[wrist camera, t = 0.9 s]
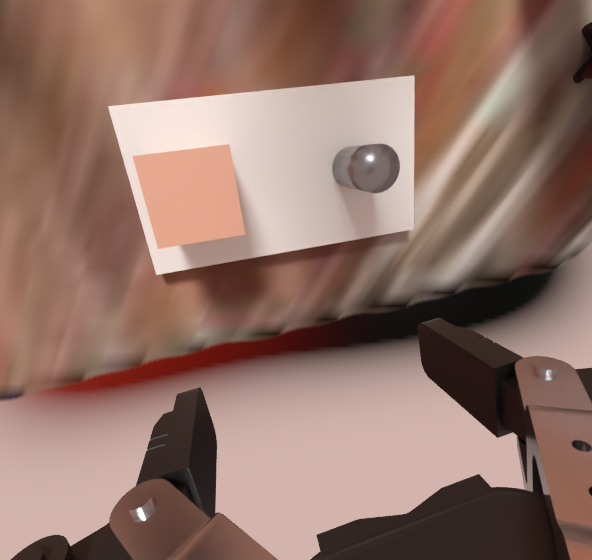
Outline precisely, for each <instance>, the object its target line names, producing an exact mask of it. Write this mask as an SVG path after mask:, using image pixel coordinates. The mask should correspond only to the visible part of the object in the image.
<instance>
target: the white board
mask: <svg viewBox="0 0 592 560" xmlns="http://www.w3.org/2000/svg"><path fill="white" fill-rule="evenodd" d="M108 108H109V111H110V114H111V118H112V121H113V125H114V128H115V132H116V135H117V139H118V142H119V146H120V149H121V153H122V156H123V160H124V163H125V167H126V170H127V174H128V177H129V181H130V184H131V188H132V191H133V195H134V198H135V202H136V205H137V209H138V212H139V216H140V219H141V223H142V226H143V230H144V233H145V237H146V240H147V244H148V247H149V251H150V254H151V258H152V261H153V265H154V268H155V272H156V275H159V274H165V273H170V272H176V271H182V270H187V269H193V268H199V267H204V266H210V265H215V264H221V263H227V262H232V261H238V260H244V259H249V258H255V257H261V256H266V255H272V254H278V253H283V252H289V251H295V250H300V249H306V248H311V247H317V246H323V245H328V244H334V243H340V242H345V241H351V240H357V239H362V238H368V237H374V236H379V235H385V234H391V233H396V232H402V231H407V230H413V229H414V76H404V77H394V78H384V79H375V80H365V81H355V82H345V83H335V84H325V85H315V86H305V87H295V88H286V89H276V90H266V91H256V92H246V93H236V94H226V95H216V96H206V97H197V98H187V99H177V100H167V101H157V102H147V103H137V104H127V105H117V106H108ZM226 144H229V145H230V150H231V156H232V162H233V167H234V173H235V179H236V184H237V190H238V195H239V201H240V207H241V212H242V218H243V223H244V229H245V235H240V236H234V237H228V238H222V239H216V240H210V241H204V242H198V243H192V244H185V245H179V246H173V247H167V248H161V249H158V247H157V243H156V240H155V236H154V232H153V229H152V225H151V222H150V218H149V214H148V211H147V207H146V204H145V200H144V196H143V193H142V189H141V186H140V182H139V178H138V175H137V171H136V167H135V164H134V160H133V157H132V156H137V155H145V154H153V153H162V152H170V151H178V150H186V149H194V148H202V147H210V146H218V145H226ZM369 144H386V145H388V146H390V147H391V148H393V149H394V151H395V152H396V153H397V155H398V158H399V162H400V171H399V175H398V178H397V180H396V181H395V183H394V184H393V185H392V186H391V187H390V188H389V189H388V190H386V191H384V192H381V193H370V192H366V191H361V190H357V189H352V188H348V187H344V186H342V185H340V184H339V183H338V182H337V181H336V180H335V178H334V176H333V173H332V164H333V160H334V158H335V156H336V154H337V153H338V152H339V151H340V150H342V149H343V148H345V147H349V146H359V145H369Z"/></svg>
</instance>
